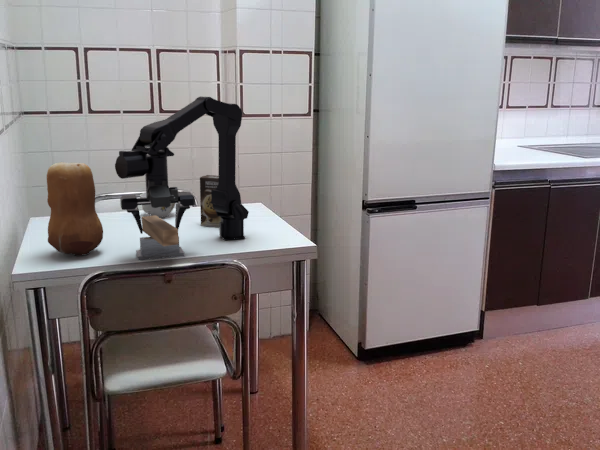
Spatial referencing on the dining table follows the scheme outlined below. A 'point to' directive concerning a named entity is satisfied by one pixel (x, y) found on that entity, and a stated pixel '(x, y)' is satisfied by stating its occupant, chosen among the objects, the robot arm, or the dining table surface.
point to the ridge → (157, 250)
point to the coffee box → (208, 201)
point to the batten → (160, 230)
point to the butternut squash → (72, 209)
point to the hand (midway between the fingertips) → (159, 232)
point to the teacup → (156, 209)
